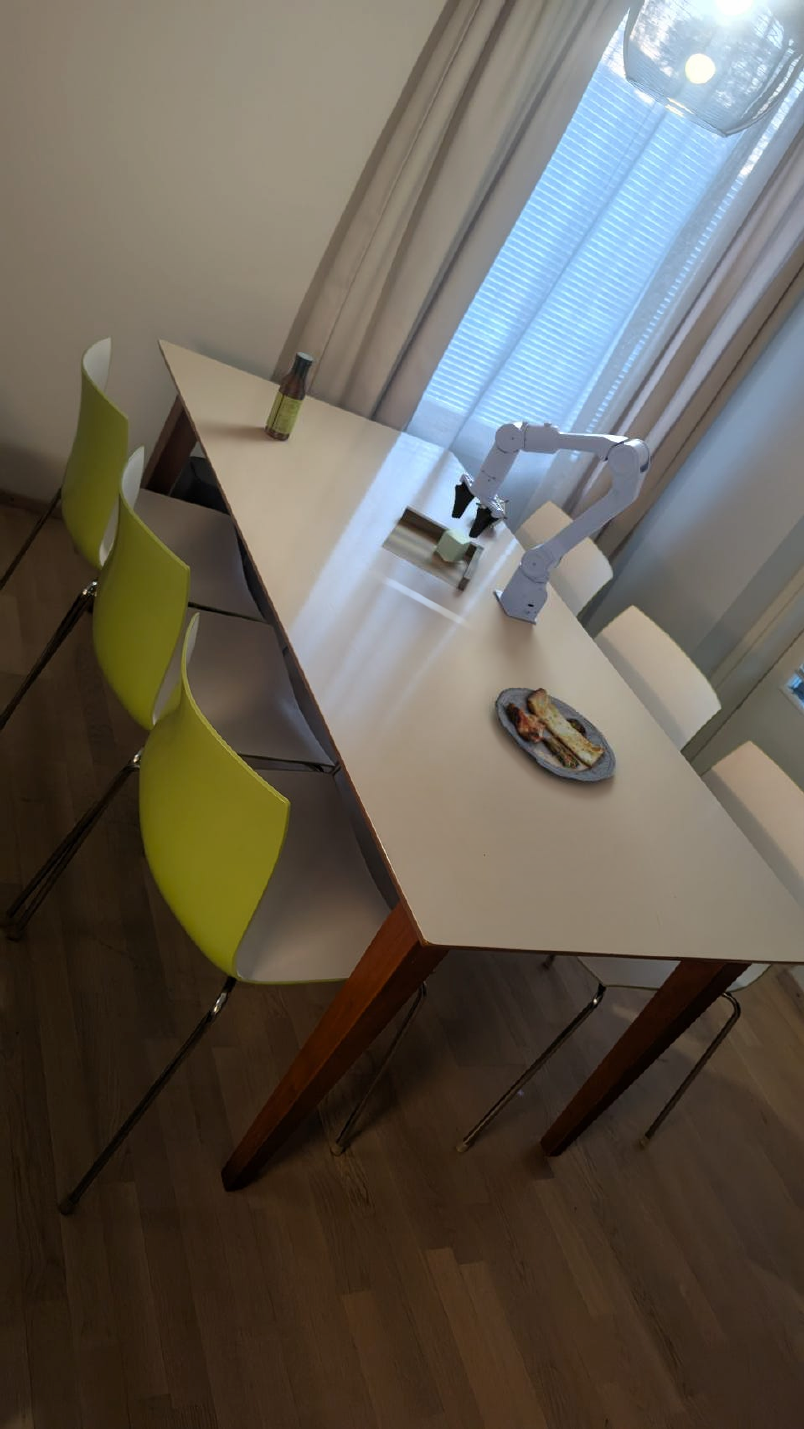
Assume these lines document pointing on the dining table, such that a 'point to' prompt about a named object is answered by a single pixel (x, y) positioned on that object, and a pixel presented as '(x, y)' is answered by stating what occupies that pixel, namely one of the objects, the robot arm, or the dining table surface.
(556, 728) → the food plate
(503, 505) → the game die
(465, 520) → the dining table surface
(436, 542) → the arena
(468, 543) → the sage cube
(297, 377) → the sauce bottle
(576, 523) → the robot arm
